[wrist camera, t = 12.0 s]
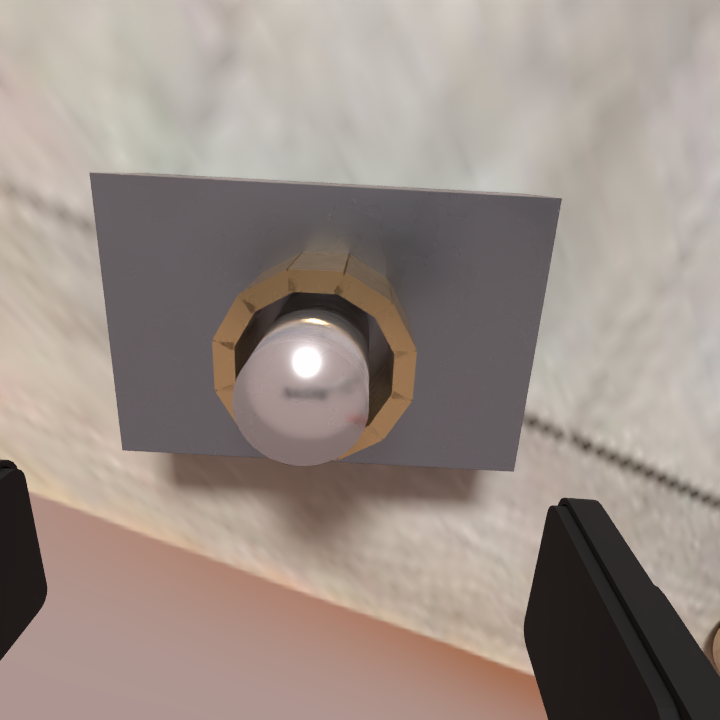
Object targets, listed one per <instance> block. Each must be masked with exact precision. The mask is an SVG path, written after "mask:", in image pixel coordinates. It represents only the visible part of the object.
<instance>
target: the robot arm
mask: <svg viewBox="0 0 720 720" xmlns="http://www.w3.org/2000/svg"><path fill="white" fill-rule="evenodd" d="M46 595H47V583H46V578H45V573H44V568H43V564H42V558H41V554H40V548H39V543H38V538H37V533H36V528H35V523H34V518H33V513H32V508H31V504H30V498H29V493H28V488H27V483H26V478H25V475H24V473H23V472H22V471H21V470H19V469H17V466H16V465H15V464H14V462H12V461H9V460H0V660H1V659H2V658H3V657H4V655H5V654H6V653H7V651H8V650H9V649H10V648H11V646H12V645H13V644H14V642H15V641H16V640H17V639H18V637H19V636H20V635H21V634H22V632H23V631H24V630H25V628H26V627H27V626H28V625H29V623H30V622H31V621H32V619H33V618H34V617H35V616H36V614H37V613H38V612H39V610H40V609H41V608H42V606H43V604H44V602H45V599H46ZM524 638H525V643H526V647H527V651H528V654H529V657H530V661H531V664H532V667H533V671H534V674H535V677H536V680H537V684H538V687H539V690H540V694H541V697H542V700H543V703H544V707H545V710H546V713H547V717H548V720H720V677H719V675H718V674H717V672H716V671H715V669H714V668H713V666H712V665H711V663H710V662H709V660H708V659H707V657H706V656H705V654H704V653H703V651H702V650H701V648H700V647H699V645H698V644H697V642H696V641H695V639H694V638H693V636H692V635H691V633H690V632H689V630H688V629H687V627H686V626H685V624H684V623H683V621H682V620H681V618H680V617H679V615H678V614H677V612H676V611H675V609H674V608H673V606H672V605H671V603H670V602H669V600H668V599H667V597H666V596H665V595H664V593H663V592H662V591H661V590H660V589H659V588H658V587H657V586H655V585H654V584H653V583H652V581H651V580H650V578H649V577H648V575H647V574H646V572H645V570H644V569H643V567H642V566H641V564H640V563H639V561H638V560H637V558H636V557H635V555H634V554H633V552H632V551H631V549H630V548H629V546H628V545H627V543H626V542H625V540H624V539H623V537H622V535H621V534H620V532H619V531H618V529H617V528H616V526H615V525H614V523H613V522H612V520H611V519H610V517H609V516H608V514H607V513H606V511H605V510H604V508H603V507H602V505H601V504H600V503H599V502H598V501H596V500H589V499H574V498H562V499H561V500H560V502H559V504H558V506H550V507H549V509H548V512H547V517H546V521H545V526H544V531H543V536H542V540H541V545H540V550H539V555H538V559H537V564H536V569H535V573H534V578H533V583H532V588H531V592H530V597H529V602H528V607H527V611H526V616H525V621H524Z"/></svg>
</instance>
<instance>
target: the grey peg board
mask: <svg viewBox="0 0 720 720" xmlns="http://www.w3.org/2000/svg"><path fill="white" fill-rule="evenodd" d="M90 180H91V189H92V197H93V205H94V214H95V222H96V231H97V239H98V247H99V256H100V264H101V273H102V281H103V290H104V298H105V306H106V315H107V323H108V332H109V340H110V349H111V357H112V365H113V374H114V382H115V391H116V399H117V407H118V416H119V424H120V433H121V441H122V450H128V451H146V452H165V453H183V454H201V455H220V456H238V457H256V458H271V459H273V460H275V461H278V462H280V463H284V464H288V465H294V466H314V465H319V464H324V463H327V462H329V461H330V462H348V463H366V464H385V465H403V466H422V467H440V468H458V469H477V470H495V471H513V472H514V467H515V461H516V455H517V450H518V444H519V438H520V433H521V427H522V421H523V416H524V410H525V404H526V399H527V393H528V387H529V382H530V376H531V370H532V364H533V359H534V353H535V347H536V342H537V336H538V330H539V325H540V319H541V313H542V308H543V302H544V296H545V291H546V285H547V279H548V274H549V268H550V262H551V257H552V251H553V245H554V239H555V234H556V228H557V222H558V217H559V211H560V205H561V200H562V199H561V198H553V197H545V196H537V195H529V194H516V193H497V192H479V191H461V190H443V189H424V188H406V187H388V186H370V185H351V184H333V183H315V182H297V181H278V180H260V179H242V178H223V177H205V176H187V175H169V174H150V173H90ZM300 252H321V253H341V254H348V257H349V256H350V255H352V256H353V257H355V258H356V259H358V260H359V261H361V262H363V263H364V264H366V265H367V266H369V267H370V268H372V269H373V270H375V271H376V272H378V273H380V274H381V275H383V276H384V277H386V278H387V279H388V281H390V283H391V285H392V287H393V289H394V291H395V293H396V295H397V297H398V299H399V301H400V303H401V305H402V307H403V309H404V311H405V313H406V315H407V317H408V320H409V323H410V327H411V331H412V334H413V338H414V342H415V346H416V349H417V356H416V367H415V378H414V390H413V400H412V402H411V403H410V405H409V406H408V407H407V409H406V410H405V411H404V413H403V414H402V415H401V417H400V418H399V419H398V421H397V422H396V424H395V425H394V426H393V428H392V429H391V430H390V432H389V433H388V434H387V436H386V437H385V438H384V439H382V441H380V442H378V443H376V444H373V445H371V446H369V447H367V448H364V449H362V450H360V451H358V452H355V453H353V454H351V455H349V456H346V457H344V458H342V459H340V460H338V457H340V456H341V455H343V454H344V453H346V452H347V451H348V450H349V449H350V448H352V447H353V445H354V444H355V443H356V442H357V441H358V439H359V438H360V436H361V435H362V433H363V431H364V428H365V426H366V423H367V419H368V413H369V383H370V381H371V380H372V379H373V377H374V376H375V374H376V373H377V372H378V370H379V369H380V367H381V366H382V364H383V363H384V362H385V360H386V359H387V357H388V349H389V343H388V341H387V339H386V337H385V336H384V334H383V332H382V330H381V328H380V326H379V324H378V322H377V320H376V318H375V317H373V316H372V315H370V314H368V313H367V312H365V311H364V310H362V309H361V308H359V307H357V306H356V305H354V304H353V303H351V302H349V301H348V300H346V299H345V298H343V297H342V296H340V295H338V294H325V293H305V292H292V293H290V294H288V295H286V296H284V297H282V298H280V299H278V300H277V301H275V302H273V303H271V304H269V305H267V306H265V307H263V309H262V311H261V313H260V314H259V316H258V338H259V344H258V346H257V347H256V349H255V350H254V352H253V353H252V355H251V356H250V358H249V359H248V361H247V362H246V364H245V365H244V367H243V368H242V370H241V371H240V373H239V375H238V377H237V379H236V382H235V385H234V389H233V394H232V406H233V413H234V417H235V420H236V422H235V421H234V419H233V418H232V416H231V415H230V413H229V412H228V410H227V409H226V407H225V406H224V404H223V402H222V401H221V399H220V398H219V396H218V395H217V393H216V392H215V391H216V390H215V386H214V367H213V348H212V341H213V338H214V336H215V334H216V332H217V331H218V329H219V327H220V325H221V324H222V322H223V320H224V318H225V317H226V315H227V313H228V311H229V310H230V308H231V306H232V304H233V303H234V301H235V299H236V297H237V296H238V295H239V294H240V293H241V292H242V291H243V290H244V289H245V288H246V287H247V286H248V285H250V284H251V283H252V282H253V281H254V280H255V279H256V278H257V277H258V276H259V275H261V274H262V273H263V272H265V271H267V270H269V269H270V268H272V267H274V266H276V265H278V264H280V263H282V262H284V261H285V260H287V259H289V258H291V257H293V256H295V255H297V254H299V253H300ZM236 423H237V424H236ZM336 458H337V460H334V459H336Z"/></svg>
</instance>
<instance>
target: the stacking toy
mask: <svg viewBox="0 0 720 720" xmlns="http://www.w3.org/2000/svg"><path fill="white" fill-rule="evenodd" d="M713 657H714V661H715V664H716V667H717V669H718V671H719V672H720V628H719V630H718V631H717V633H716V635H715V638H714V642H713Z"/></svg>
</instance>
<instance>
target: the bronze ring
mask: <svg viewBox="0 0 720 720" xmlns="http://www.w3.org/2000/svg"><path fill="white" fill-rule="evenodd" d="M292 292H305V293H325V294H338V295H340V296H342V297H343V298H345V299H346V300H348V301H349V302H351V303H353V304H354V305H356V306H357V307H359V308H361V309H362V310H364V311H365V312H367V313H368V314H370V315H372V316H373V317H375V318H376V320H377V322H378V324H379V326H380V328H381V330H382V332H383V334H384V336H385V337H386V339H387V341H388V343H389V349H388V357H387V359H386V360H385V362H384V363H383V364H382V366H381V367H380V369H379V370H378V372H377V373H376V374H375V376H374V377H373V379H372V380H371V381H370V383H369V413H368V419H367V423H366V426H365V428H364V431H363V433H362V435H361V436H360V438H359V439H358V441H357V442H356V443H355V444H354V445H353V447H352V448H350V449H349V450H348V451H347V452H346V453H344V454H343V455H341V456H340V457H338V460H340V459H342V458H344V457H346V456H349V455H351V454H353V453H355V452H358V451H360V450H362V449H364V448H367V447H369V446H371V445H373V444H376V443H378V442H380V441H382V439H384V438H385V437H386V436H387V434H388V433H389V432H390V430H391V429H392V428H393V426H394V425H395V424H396V422H397V421H398V419H399V418H400V417H401V415H402V414H403V413H404V411H405V410H406V409H407V407H408V406H409V405H410V403H411V402H412V400H413V390H414V378H415V367H416V356H417V349H416V346H415V342H414V338H413V334H412V331H411V327H410V323H409V320H408V317H407V315H406V313H405V311H404V309H403V307H402V305H401V303H400V301H399V299H398V297H397V295H396V293H395V291H394V289H393V287H392V285H391V283H390V281H388V279H387V278H386V277H384V276H383V275H381V274H380V273H378V272H376V271H375V270H373V269H372V268H370V267H369V266H367V265H366V264H364V263H363V262H361V261H359V260H358V259H356V258H355V257H353V256H352V255H350V256H349V257H348V254H341V253H321V252H300V253H299V254H297V255H295V256H293V257H291V258H289V259H287V260H285V261H284V262H282V263H280V264H278V265H276V266H274V267H272V268H270V269H269V270H267V271H265V272H263V273H262V274H261V275H259V276H258V277H257V278H256V279H255V280H254V281H253V282H252V283H251V284H250V285H248V286H247V287H246V288H245V289H244V290H243V291H242V292H241V293H240V294H239V295H238V296H237V297H236V299H235V301H234V303H233V304H232V306H231V308H230V310H229V311H228V313H227V315H226V317H225V318H224V320H223V322H222V324H221V325H220V327H219V329H218V331H217V332H216V334H215V336H214V338H213V341H212V348H213V367H214V386H215V390H216V391H215V392H216V393H217V395H218V396H219V398H220V399H221V401H222V402H223V404H224V406H225V407H226V409H227V410H228V412H229V413H230V415H231V416H232V418H233V419H234V421H235V422H236V420H235V417H234V413H233V406H232V394H233V389H234V385H235V382H236V379H237V377H238V375H239V373H240V371H241V370H242V368H243V367H244V365H245V364H246V362H247V361H248V359H249V358H250V356H251V355H252V353H253V352H254V350H255V349H256V347H257V346H258V344H259V338H258V316H259V314H260V313H261V311H262V309H263V307H265V306H267V305H269V304H271V303H273V302H275V301H277V300H278V299H280V298H282V297H284V296H286V295H288V294H290V293H292ZM236 424H237V423H236ZM334 460H337V458H336V459H334Z"/></svg>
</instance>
